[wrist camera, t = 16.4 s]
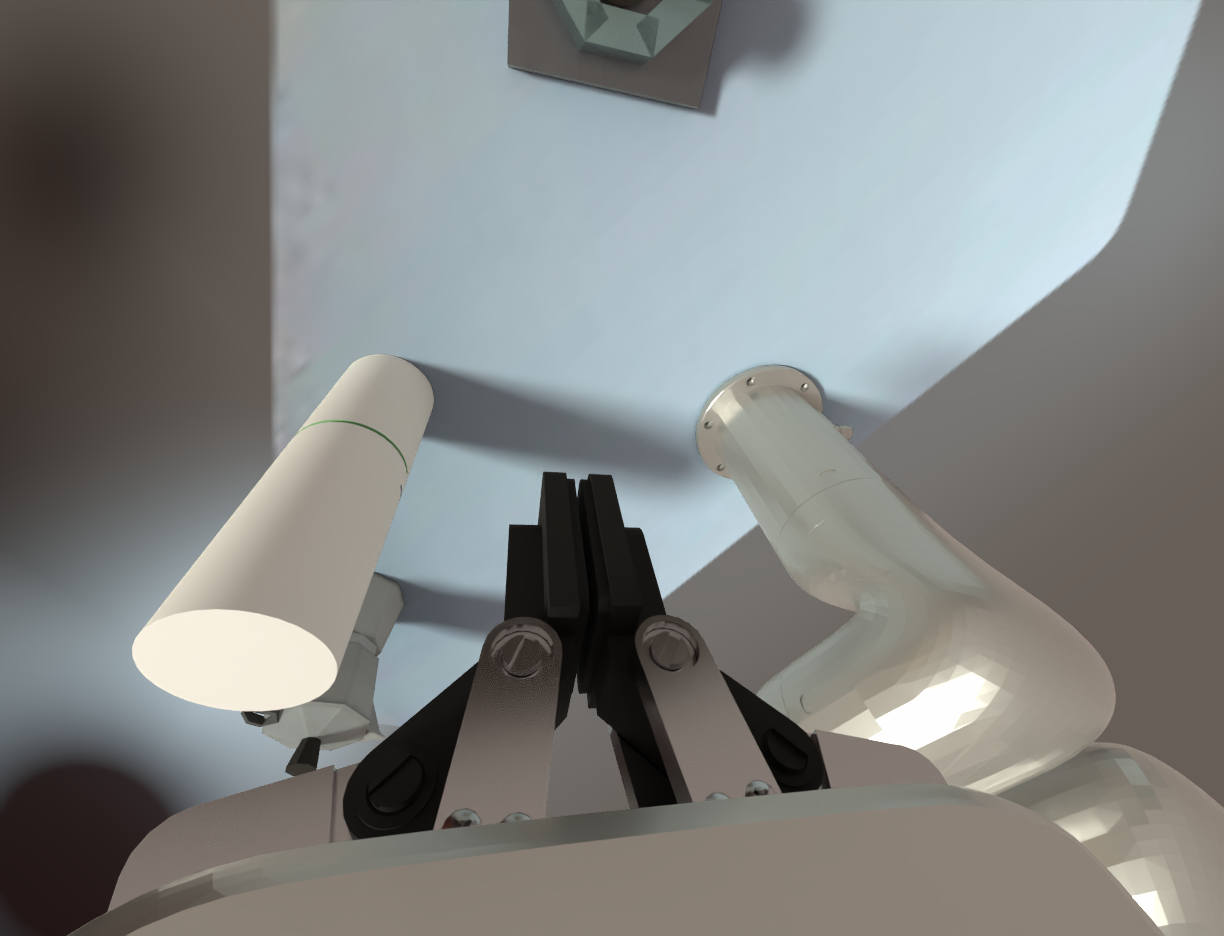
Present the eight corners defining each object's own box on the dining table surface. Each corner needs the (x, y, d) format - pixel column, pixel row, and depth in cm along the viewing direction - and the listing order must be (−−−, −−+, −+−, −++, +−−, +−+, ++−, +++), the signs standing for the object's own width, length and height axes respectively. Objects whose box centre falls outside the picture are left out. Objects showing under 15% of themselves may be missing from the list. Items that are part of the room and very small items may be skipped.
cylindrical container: (339, 419, 40) (145, 706, 20) (345, 342, 36) (116, 597, 16) (426, 439, 42) (332, 715, 22) (440, 368, 39) (343, 621, 19)
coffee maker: (436, 599, 54) (401, 767, 40) (391, 636, 57) (343, 807, 43) (310, 538, 47) (211, 719, 32) (265, 584, 49) (154, 770, 35)
